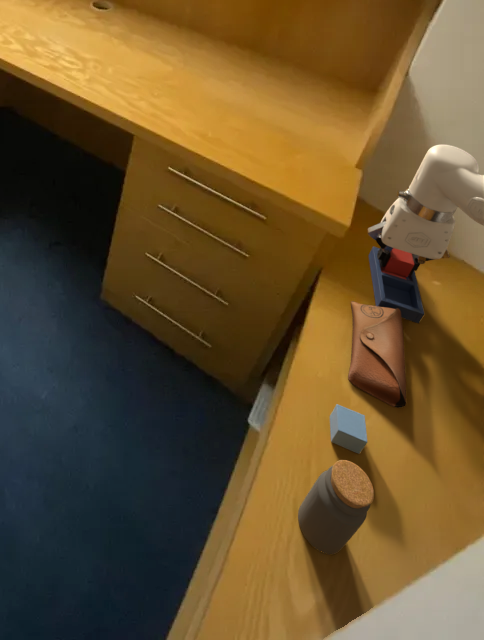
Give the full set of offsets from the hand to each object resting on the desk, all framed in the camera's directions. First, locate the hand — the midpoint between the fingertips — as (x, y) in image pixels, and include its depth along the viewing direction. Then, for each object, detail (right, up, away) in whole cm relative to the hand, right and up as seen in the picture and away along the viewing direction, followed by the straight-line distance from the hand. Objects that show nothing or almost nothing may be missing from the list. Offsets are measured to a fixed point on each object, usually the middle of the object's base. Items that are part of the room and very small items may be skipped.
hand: (394, 265), depth 105 cm
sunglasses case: (-12, -11, -12) cm, 20 cm away
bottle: (-34, -23, -33) cm, 52 cm away
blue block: (-25, -17, -23) cm, 38 cm away
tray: (-1, -4, -1) cm, 4 cm away
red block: (0, 0, 0) cm, 0 cm away
